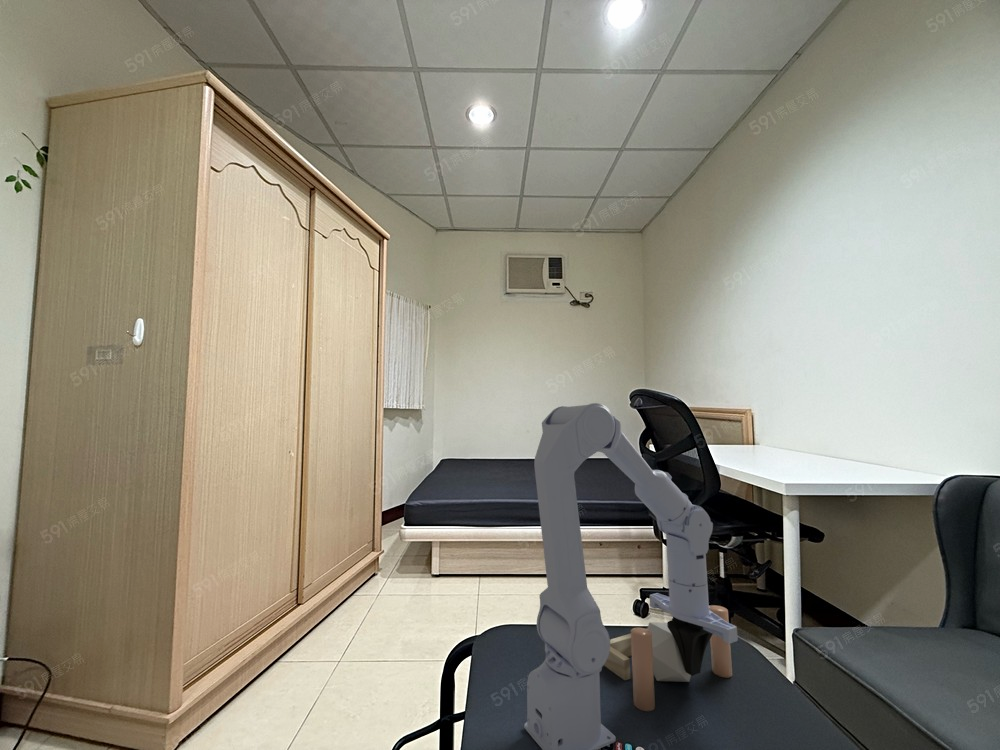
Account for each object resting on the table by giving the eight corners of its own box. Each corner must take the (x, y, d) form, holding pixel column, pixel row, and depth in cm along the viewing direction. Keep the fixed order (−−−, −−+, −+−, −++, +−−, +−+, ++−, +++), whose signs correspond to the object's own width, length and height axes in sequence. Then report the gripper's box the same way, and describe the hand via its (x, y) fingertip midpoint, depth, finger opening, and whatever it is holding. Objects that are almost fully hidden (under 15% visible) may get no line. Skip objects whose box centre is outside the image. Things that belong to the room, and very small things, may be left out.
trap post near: (644, 713, 60) (641, 638, 61) (629, 701, 63) (626, 630, 64) (659, 707, 61) (656, 634, 63) (643, 695, 64) (640, 625, 65)
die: (691, 704, 63) (714, 641, 67) (638, 666, 66) (662, 607, 69) (674, 694, 70) (695, 637, 74) (627, 660, 73) (649, 607, 76)
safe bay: (624, 680, 68) (624, 660, 68) (598, 661, 74) (597, 643, 74) (685, 658, 75) (684, 640, 75) (656, 642, 80) (656, 625, 81)
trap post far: (724, 679, 68) (720, 614, 70) (708, 670, 71) (704, 607, 72) (736, 674, 70) (731, 610, 71) (719, 665, 72) (715, 604, 74)
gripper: (747, 590, 63) (754, 690, 61) (668, 563, 75) (672, 645, 73) (716, 599, 59) (723, 704, 57) (639, 569, 72) (643, 655, 70)
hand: (692, 672), depth 65 cm, fingers closed
